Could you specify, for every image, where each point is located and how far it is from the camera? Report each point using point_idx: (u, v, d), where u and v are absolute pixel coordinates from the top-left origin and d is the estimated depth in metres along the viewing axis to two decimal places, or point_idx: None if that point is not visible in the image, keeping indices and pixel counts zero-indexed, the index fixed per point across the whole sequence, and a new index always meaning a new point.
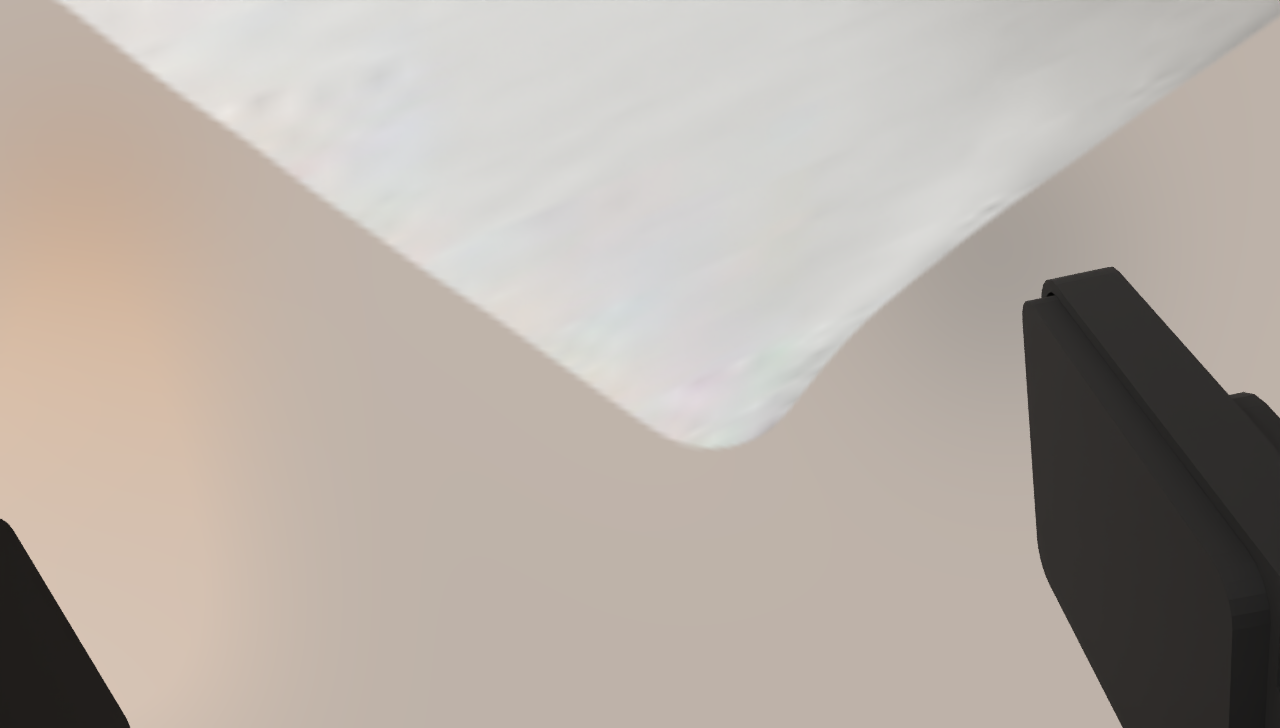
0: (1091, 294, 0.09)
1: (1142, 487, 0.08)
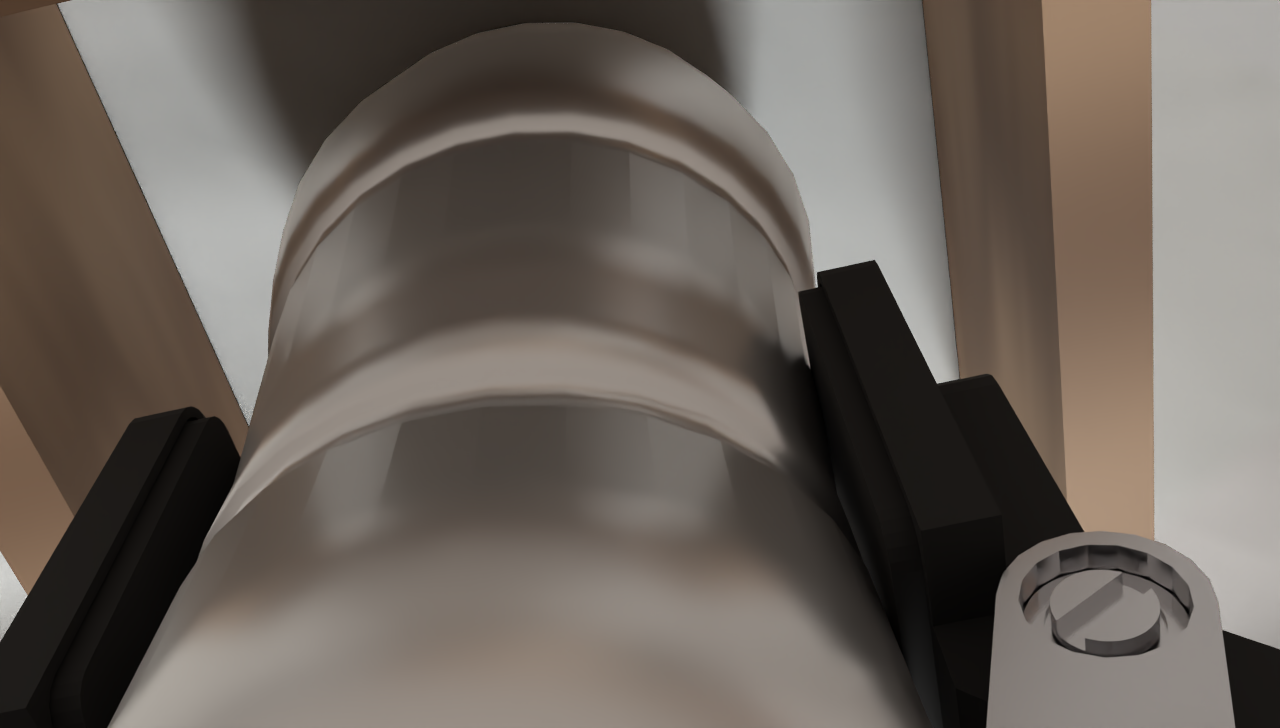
0: (848, 284, 0.10)
1: (852, 455, 0.09)
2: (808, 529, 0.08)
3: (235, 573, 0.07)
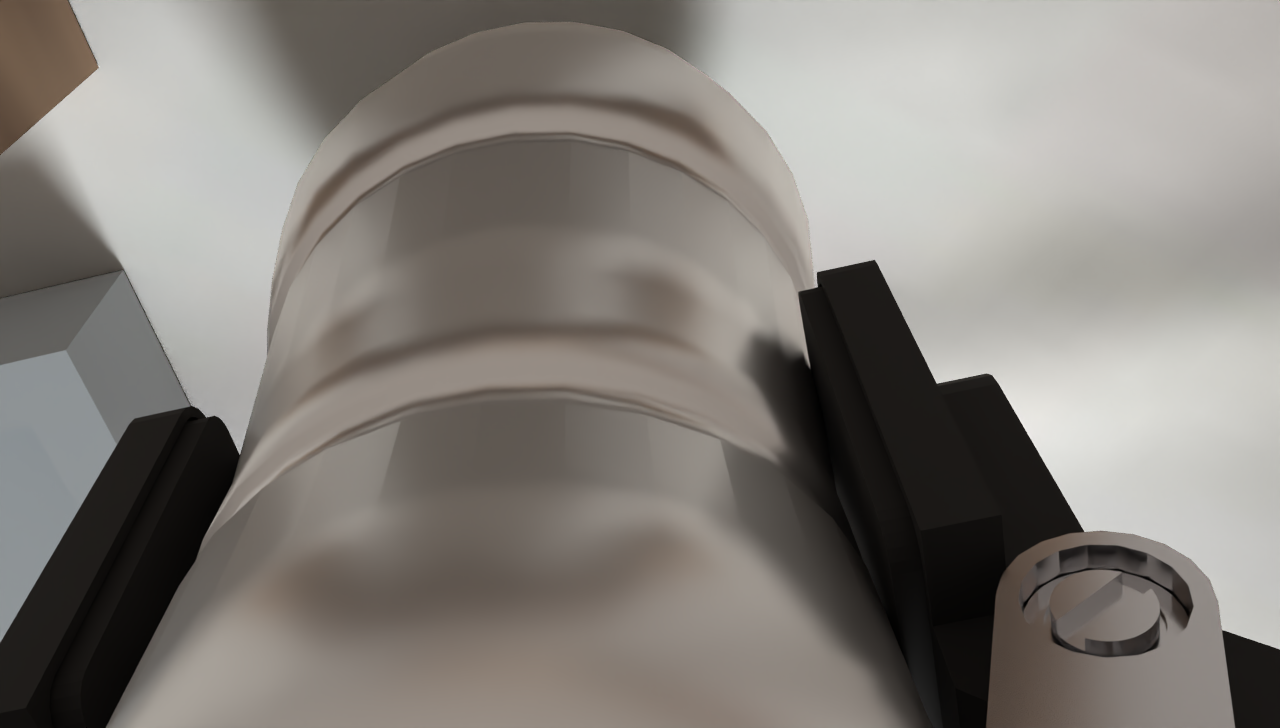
0: (847, 284, 0.10)
1: (851, 455, 0.09)
2: (808, 528, 0.08)
3: (234, 572, 0.07)
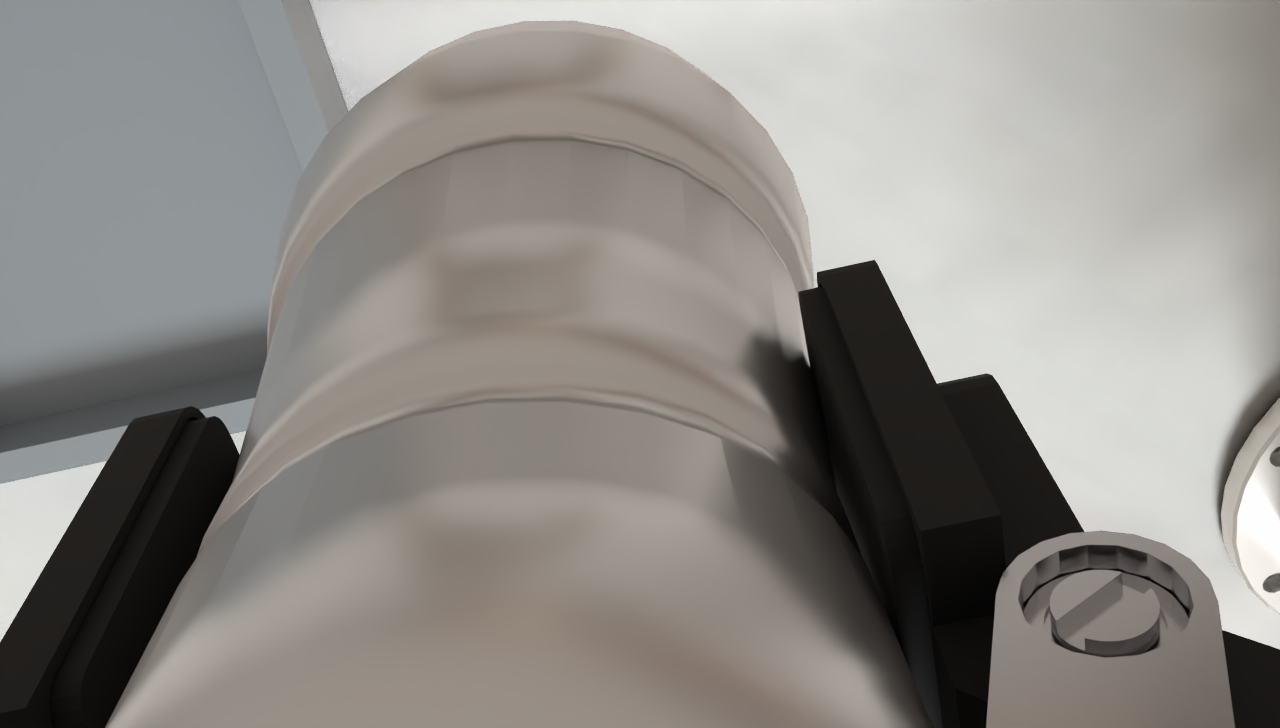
0: (847, 284, 0.10)
1: (851, 455, 0.09)
2: (808, 526, 0.08)
3: (234, 570, 0.07)
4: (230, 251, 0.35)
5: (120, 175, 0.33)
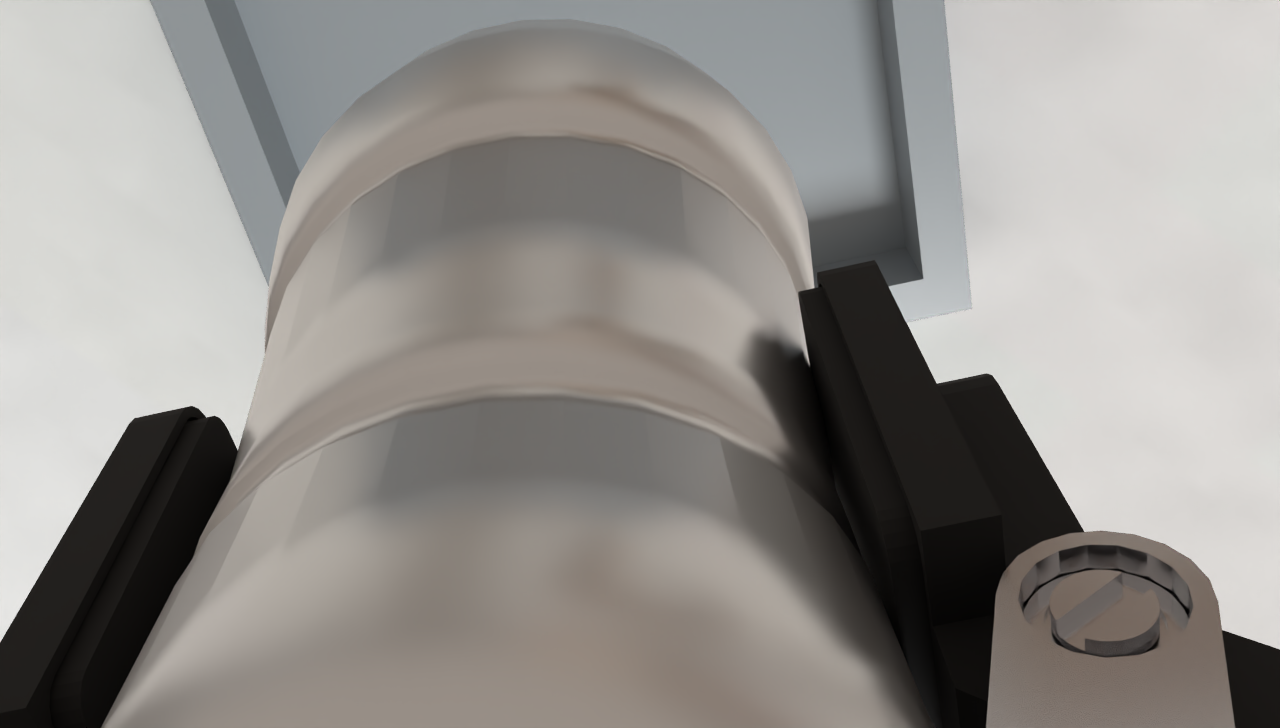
0: (847, 284, 0.10)
1: (851, 455, 0.09)
2: (807, 525, 0.08)
3: (230, 570, 0.07)
4: None
5: (619, 17, 0.26)
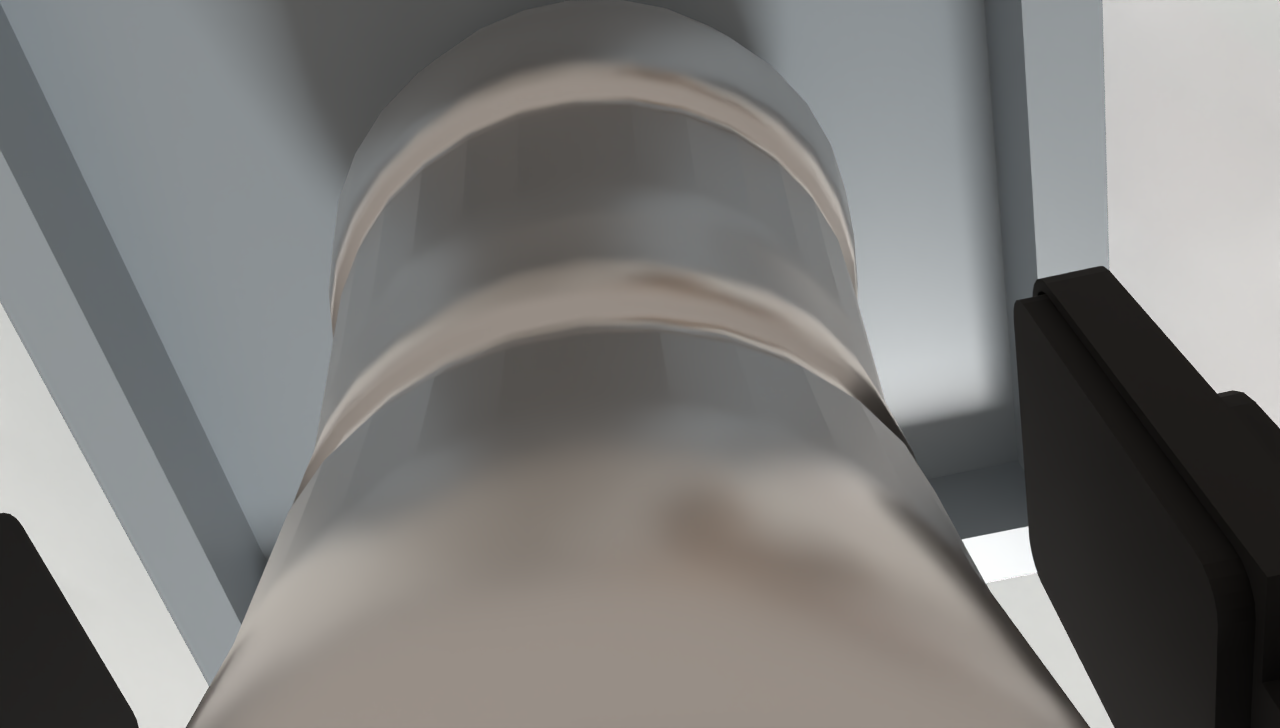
0: (1081, 293, 0.09)
1: (1130, 484, 0.08)
2: (887, 447, 0.08)
3: (360, 484, 0.08)
4: None
5: None
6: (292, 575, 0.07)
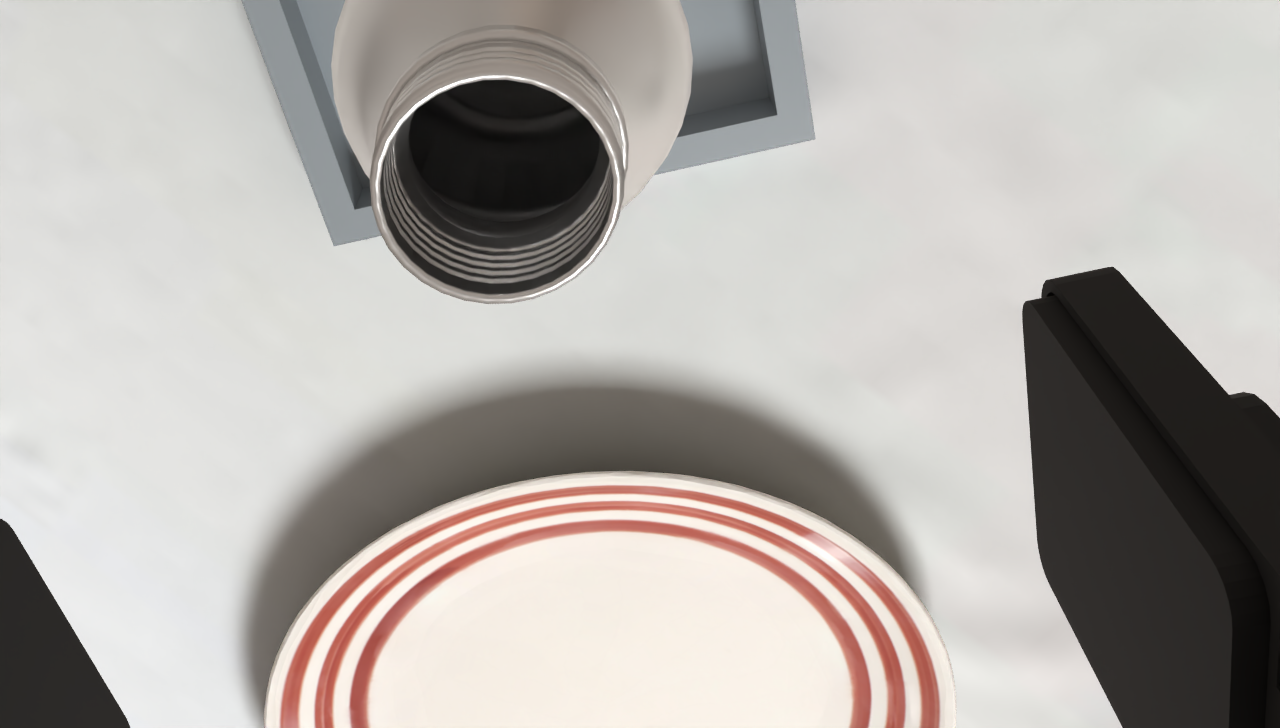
0: (1091, 294, 0.09)
1: (1142, 487, 0.08)
2: None
3: None
4: None
5: None
6: None
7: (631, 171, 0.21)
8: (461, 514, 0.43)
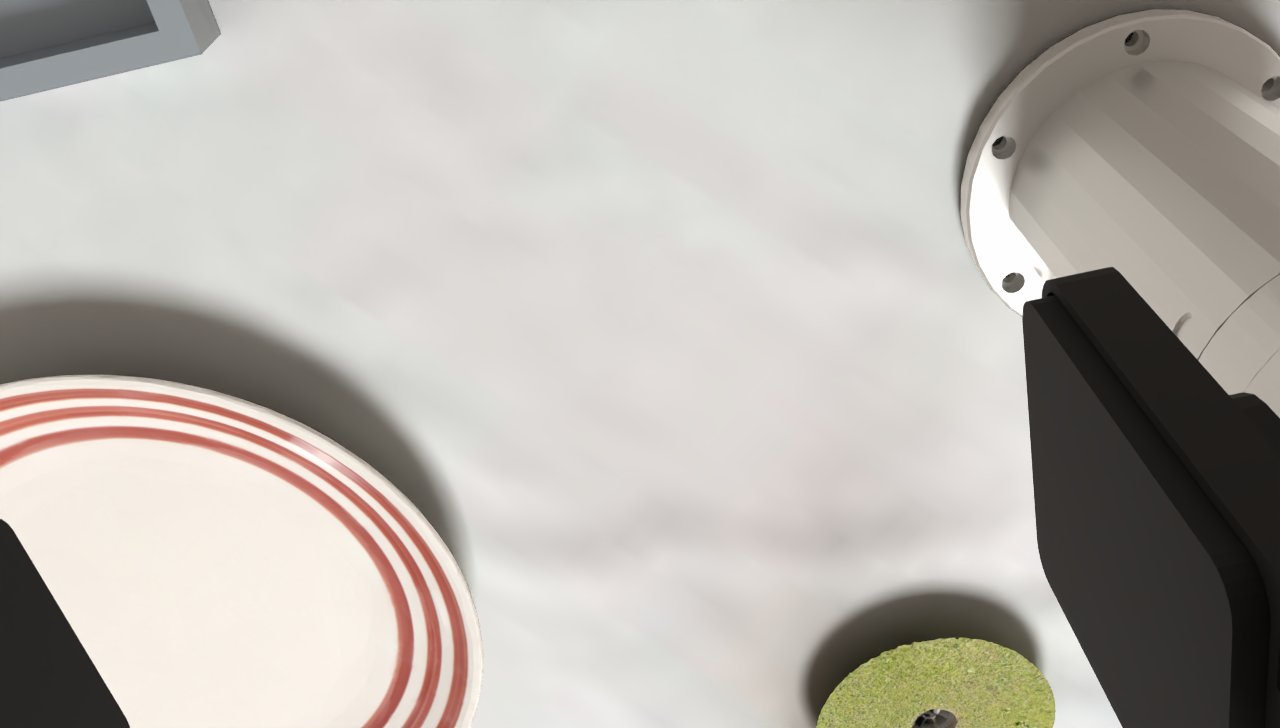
0: (1091, 294, 0.09)
1: (1142, 487, 0.08)
2: None
3: None
4: None
5: None
6: None
7: None
8: None
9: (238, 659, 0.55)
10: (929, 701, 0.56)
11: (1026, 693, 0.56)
